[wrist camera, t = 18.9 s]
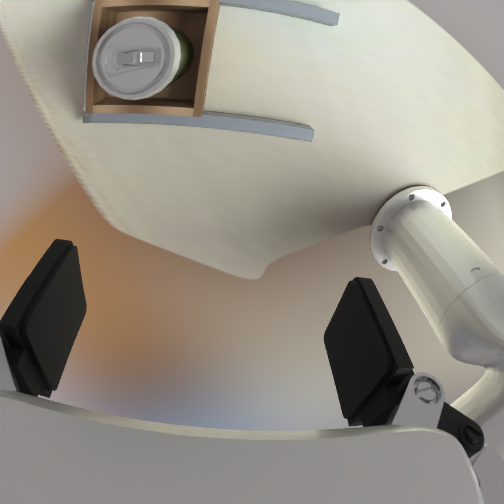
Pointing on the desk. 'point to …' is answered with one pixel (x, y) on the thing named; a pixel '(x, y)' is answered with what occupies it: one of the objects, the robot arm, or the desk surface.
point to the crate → (182, 90)
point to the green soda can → (141, 57)
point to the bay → (275, 3)
